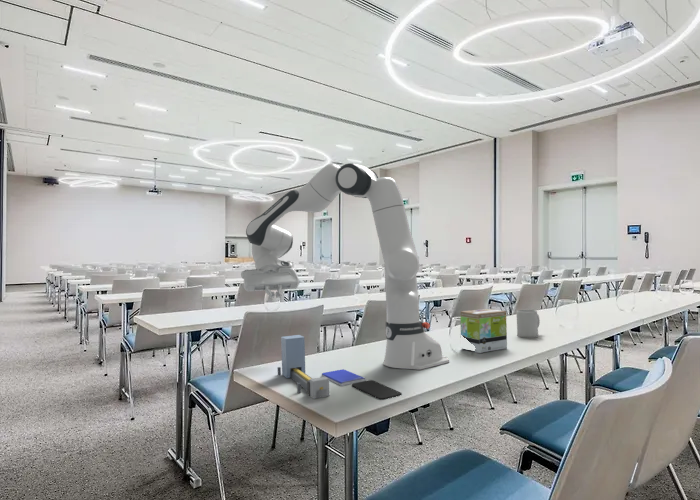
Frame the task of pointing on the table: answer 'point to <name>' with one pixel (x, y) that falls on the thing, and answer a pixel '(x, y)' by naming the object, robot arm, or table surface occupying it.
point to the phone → (376, 389)
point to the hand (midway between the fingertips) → (275, 296)
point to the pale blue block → (292, 354)
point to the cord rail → (309, 383)
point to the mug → (527, 323)
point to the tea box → (484, 329)
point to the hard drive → (343, 377)
